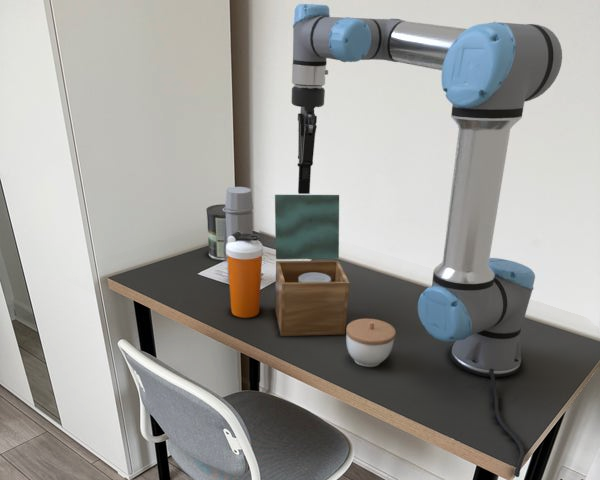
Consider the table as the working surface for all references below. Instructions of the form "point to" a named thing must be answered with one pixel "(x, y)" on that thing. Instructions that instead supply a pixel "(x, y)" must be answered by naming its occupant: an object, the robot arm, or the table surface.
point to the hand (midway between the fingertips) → (303, 192)
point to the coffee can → (216, 231)
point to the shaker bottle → (244, 273)
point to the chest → (311, 299)
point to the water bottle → (238, 213)
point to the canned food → (314, 277)
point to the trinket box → (369, 341)
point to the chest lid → (307, 226)
